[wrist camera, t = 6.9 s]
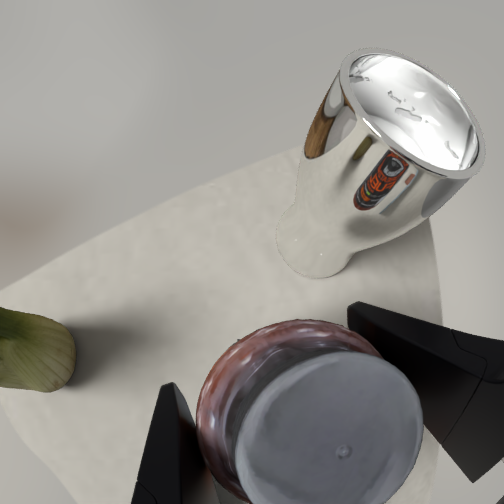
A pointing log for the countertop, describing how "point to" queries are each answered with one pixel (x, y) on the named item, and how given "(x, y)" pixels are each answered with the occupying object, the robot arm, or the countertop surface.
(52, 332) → the fennel bulb
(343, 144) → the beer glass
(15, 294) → the countertop surface
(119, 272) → the countertop surface
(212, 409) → the supplement bottle
